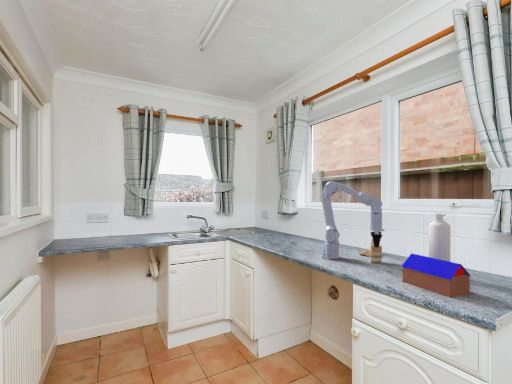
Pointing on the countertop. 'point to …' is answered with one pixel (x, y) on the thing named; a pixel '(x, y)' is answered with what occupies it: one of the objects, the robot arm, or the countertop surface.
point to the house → (436, 275)
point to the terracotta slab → (376, 248)
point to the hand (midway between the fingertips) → (376, 246)
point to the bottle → (439, 238)
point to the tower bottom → (376, 260)
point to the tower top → (376, 255)
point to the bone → (367, 253)
